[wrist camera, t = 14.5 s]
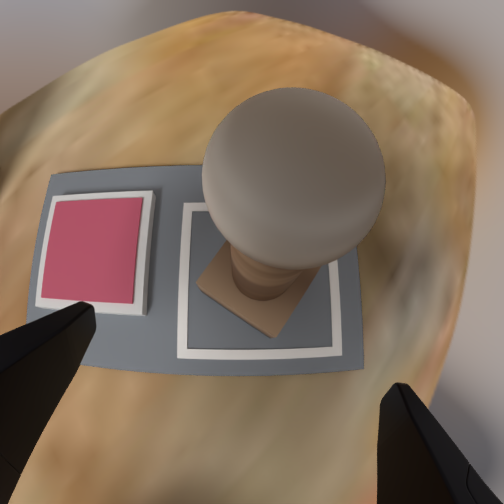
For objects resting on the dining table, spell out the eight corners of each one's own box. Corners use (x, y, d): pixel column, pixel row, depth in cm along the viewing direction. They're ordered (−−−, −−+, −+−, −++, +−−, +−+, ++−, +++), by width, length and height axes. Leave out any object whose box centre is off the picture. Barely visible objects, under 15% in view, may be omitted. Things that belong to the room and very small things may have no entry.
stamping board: (360, 368, 19) (371, 369, 17) (29, 355, 18) (15, 354, 16) (343, 173, 23) (351, 161, 21) (54, 178, 22) (44, 167, 20)
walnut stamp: (270, 338, 19) (373, 313, 4) (201, 291, 19) (118, 149, 5) (313, 271, 20) (451, 120, 6) (247, 228, 21) (269, 21, 6)
